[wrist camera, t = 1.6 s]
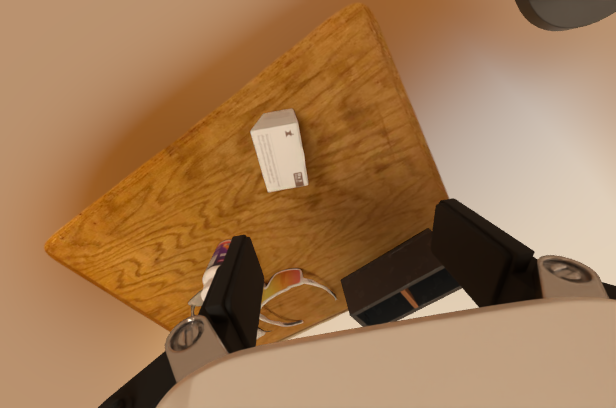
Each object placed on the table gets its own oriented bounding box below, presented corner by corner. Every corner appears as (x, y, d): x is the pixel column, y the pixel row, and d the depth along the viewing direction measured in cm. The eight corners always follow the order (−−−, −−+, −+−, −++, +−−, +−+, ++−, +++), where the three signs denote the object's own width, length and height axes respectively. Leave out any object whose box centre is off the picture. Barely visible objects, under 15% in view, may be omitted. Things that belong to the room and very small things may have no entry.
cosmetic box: (261, 113, 29) (243, 127, 18) (295, 107, 28) (297, 117, 18) (272, 159, 31) (263, 194, 21) (303, 153, 31) (309, 186, 21)
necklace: (258, 337, 50) (274, 328, 49) (258, 340, 50) (273, 331, 48) (236, 325, 48) (251, 315, 46) (235, 328, 47) (251, 318, 46)
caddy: (428, 227, 39) (457, 257, 32) (442, 251, 42) (472, 283, 35) (340, 279, 44) (349, 315, 37) (359, 298, 47) (371, 334, 40)
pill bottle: (253, 247, 38) (243, 292, 30) (239, 266, 40) (225, 314, 32) (225, 233, 37) (205, 277, 28) (211, 254, 38) (188, 301, 30)
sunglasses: (291, 255, 40) (294, 277, 36) (341, 284, 47) (348, 306, 43) (242, 295, 44) (239, 320, 39) (295, 317, 51) (297, 339, 47)
